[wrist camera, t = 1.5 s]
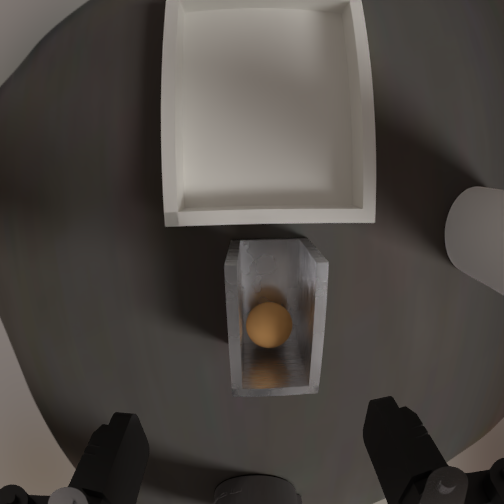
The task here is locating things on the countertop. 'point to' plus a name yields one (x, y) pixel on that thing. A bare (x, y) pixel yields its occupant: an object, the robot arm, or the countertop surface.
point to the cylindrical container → (478, 235)
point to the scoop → (291, 298)
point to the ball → (269, 325)
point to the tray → (267, 113)
